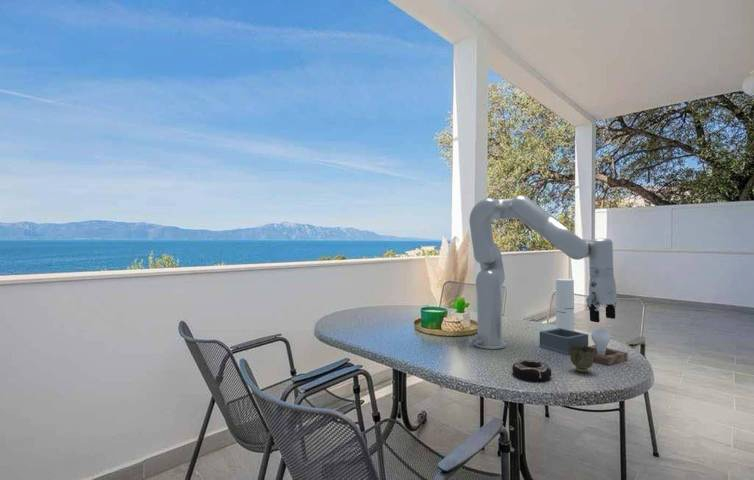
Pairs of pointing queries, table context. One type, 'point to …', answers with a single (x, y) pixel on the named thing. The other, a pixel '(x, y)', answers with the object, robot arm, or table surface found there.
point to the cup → (582, 357)
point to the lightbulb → (601, 340)
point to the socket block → (609, 356)
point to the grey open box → (562, 339)
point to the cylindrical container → (565, 304)
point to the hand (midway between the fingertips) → (602, 319)
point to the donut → (531, 370)
